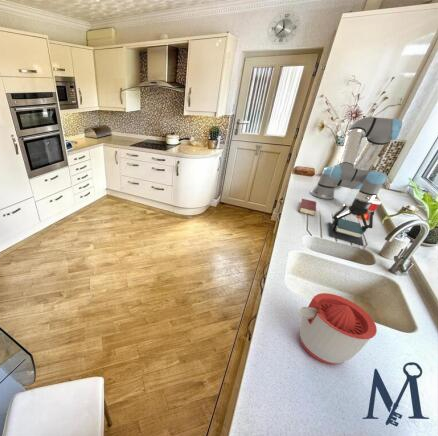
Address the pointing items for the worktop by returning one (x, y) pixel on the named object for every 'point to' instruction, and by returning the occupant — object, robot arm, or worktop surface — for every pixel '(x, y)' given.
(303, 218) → the worktop surface
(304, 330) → the citrus juicer
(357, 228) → the teal hardback
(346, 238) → the rubber mat
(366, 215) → the paper cup
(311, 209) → the burgundy notebook
